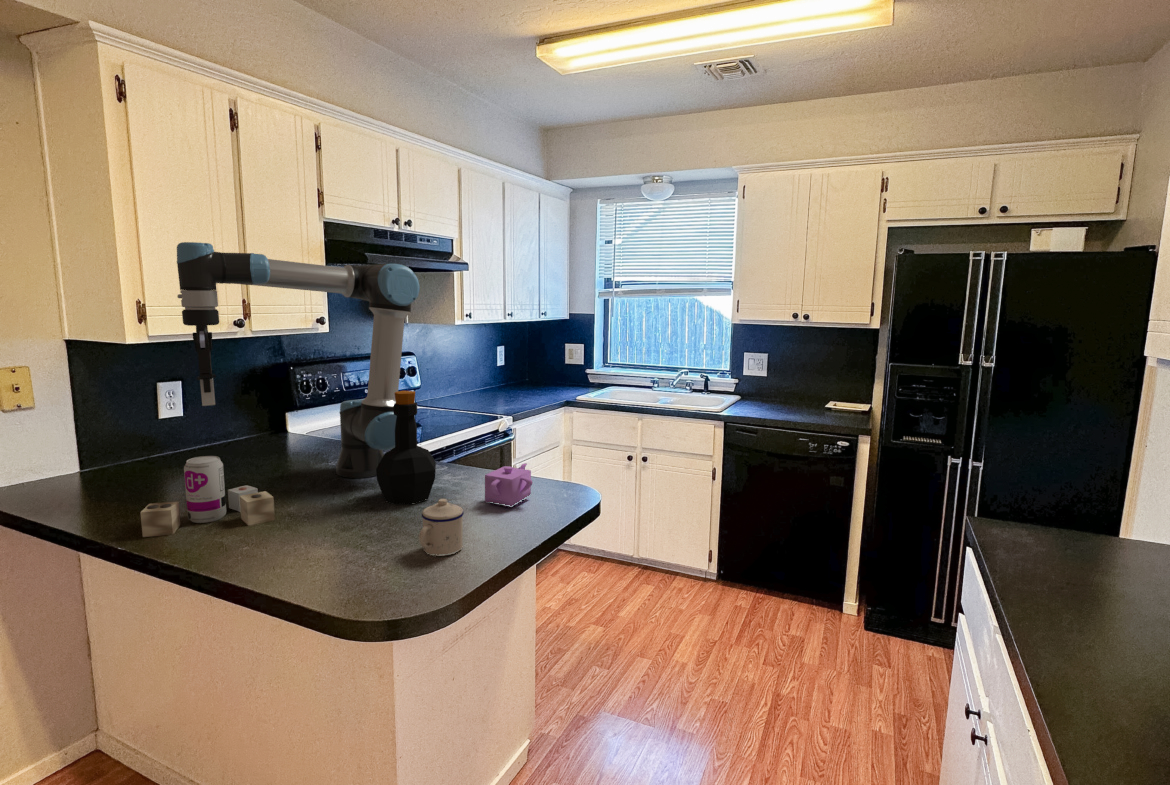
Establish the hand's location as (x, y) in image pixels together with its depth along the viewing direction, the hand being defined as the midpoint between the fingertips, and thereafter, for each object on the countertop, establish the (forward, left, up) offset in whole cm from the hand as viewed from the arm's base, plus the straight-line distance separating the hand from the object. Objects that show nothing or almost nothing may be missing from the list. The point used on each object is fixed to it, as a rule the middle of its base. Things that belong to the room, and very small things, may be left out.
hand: (208, 404), depth 154 cm
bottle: (-46, +7, -28) cm, 55 cm away
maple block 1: (+11, +7, -28) cm, 31 cm away
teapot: (-71, +22, -28) cm, 80 cm away
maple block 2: (-9, +8, -28) cm, 31 cm away
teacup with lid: (-44, +46, -28) cm, 70 cm away
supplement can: (+2, +2, -28) cm, 29 cm away
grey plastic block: (-6, -3, -28) cm, 29 cm away
